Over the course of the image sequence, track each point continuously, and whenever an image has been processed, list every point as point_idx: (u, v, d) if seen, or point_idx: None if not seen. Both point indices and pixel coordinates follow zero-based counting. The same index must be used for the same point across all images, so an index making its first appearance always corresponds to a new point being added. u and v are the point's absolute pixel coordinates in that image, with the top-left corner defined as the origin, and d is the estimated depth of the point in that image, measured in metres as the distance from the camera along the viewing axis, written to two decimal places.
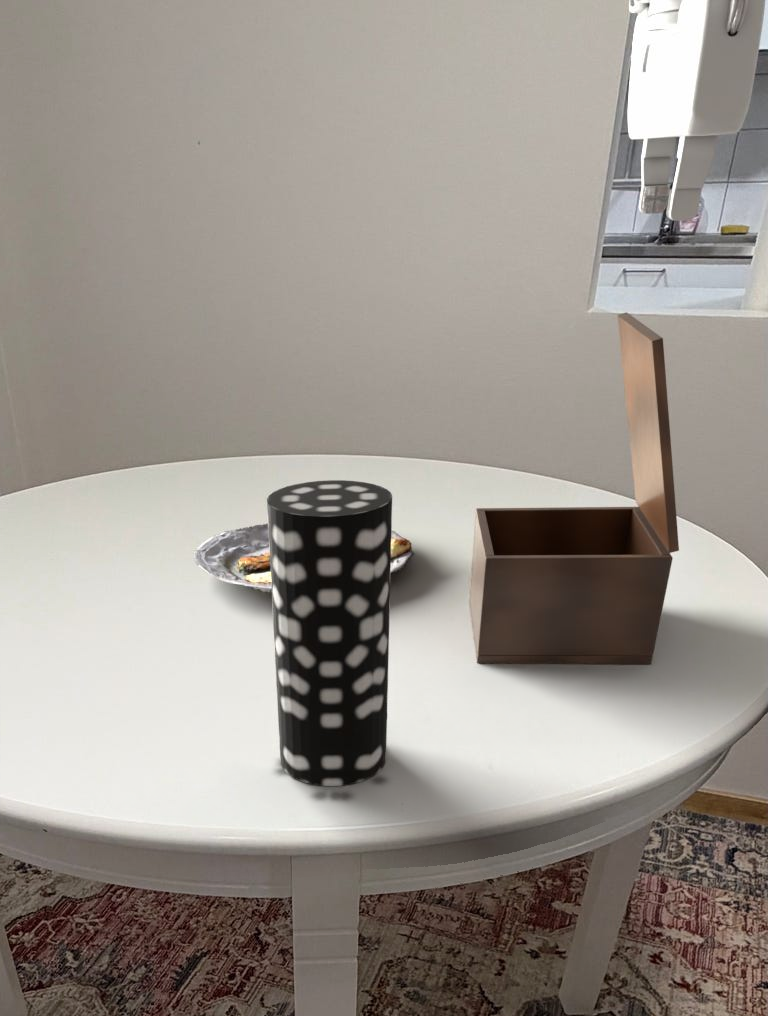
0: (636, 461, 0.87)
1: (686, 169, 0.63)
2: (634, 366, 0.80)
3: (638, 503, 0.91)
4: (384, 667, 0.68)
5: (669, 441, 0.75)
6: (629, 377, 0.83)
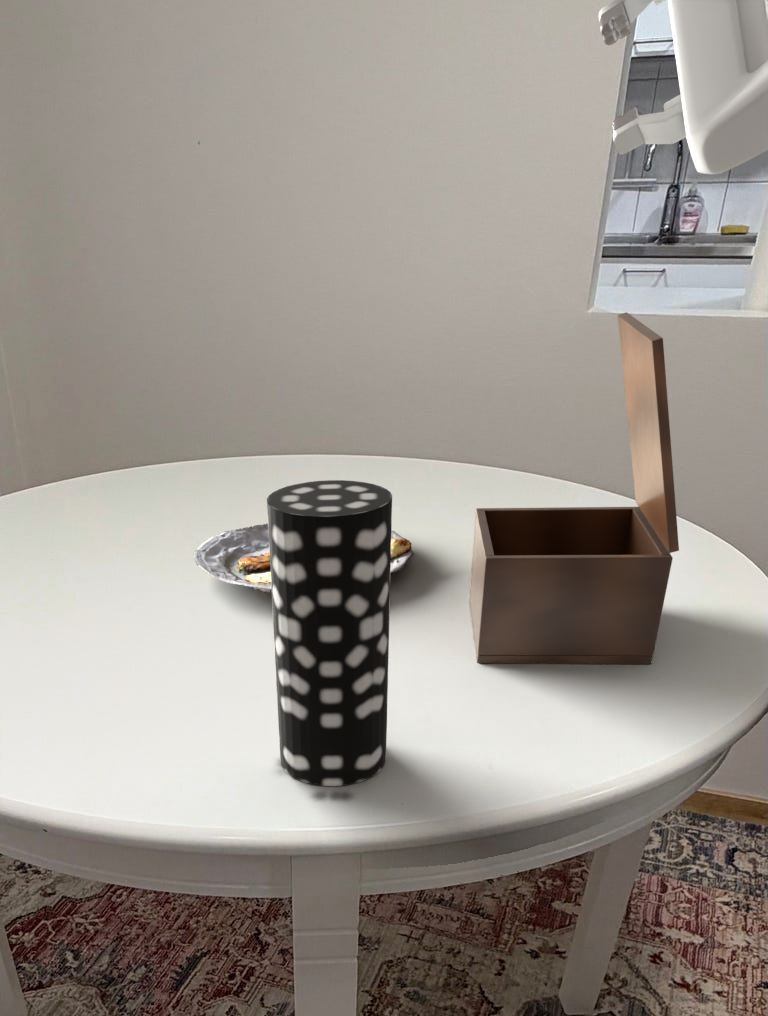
0: (636, 461, 0.87)
1: None
2: (634, 366, 0.80)
3: (638, 503, 0.91)
4: (384, 667, 0.68)
5: (669, 441, 0.75)
6: (629, 377, 0.83)
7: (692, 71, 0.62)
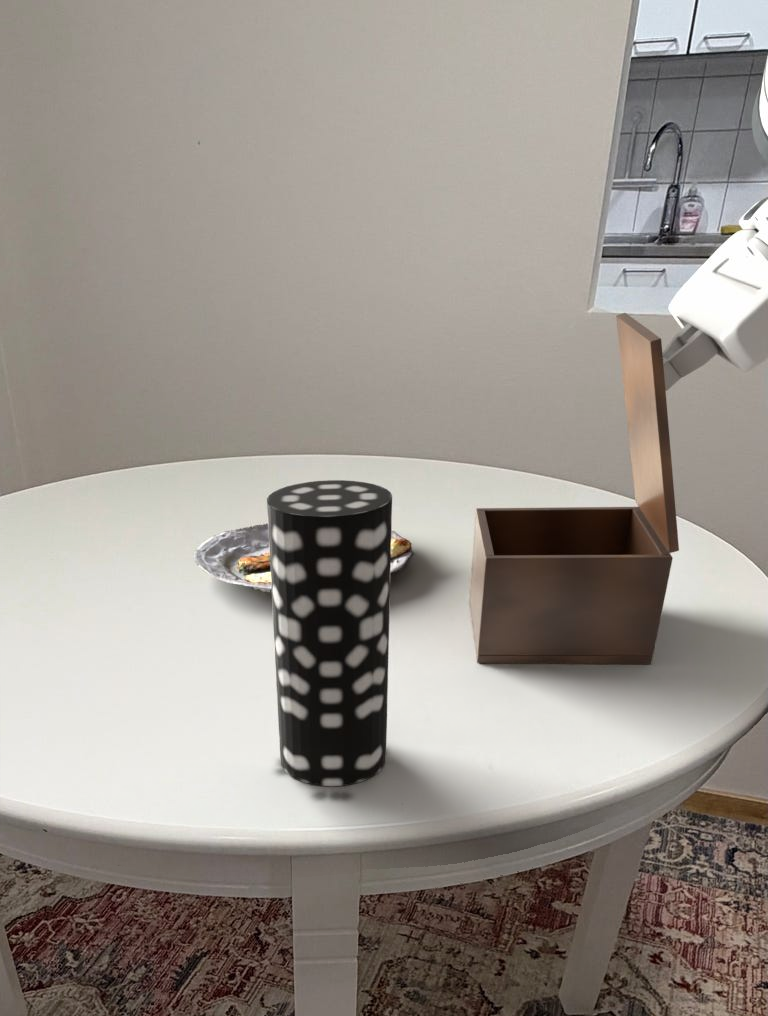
0: (636, 461, 0.87)
1: (685, 355, 0.76)
2: (633, 366, 0.80)
3: (638, 503, 0.91)
4: (384, 667, 0.68)
5: (668, 441, 0.75)
6: (628, 377, 0.83)
7: None
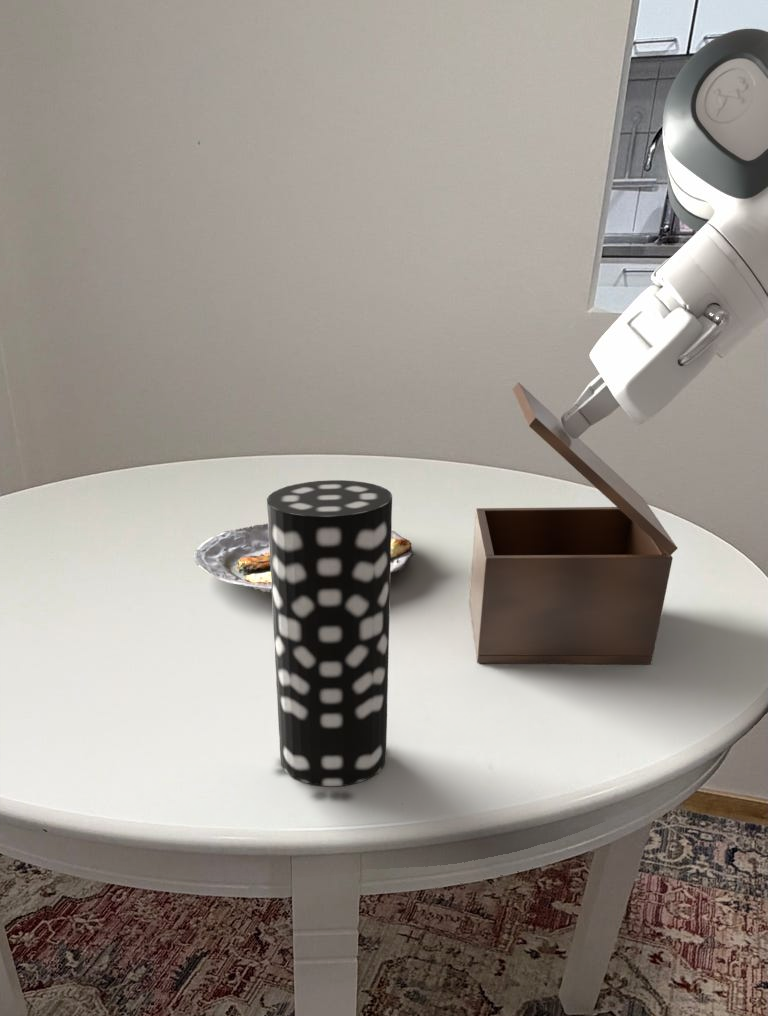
0: None
1: (592, 405, 0.81)
2: None
3: None
4: (384, 667, 0.68)
5: (601, 480, 0.77)
6: None
7: None
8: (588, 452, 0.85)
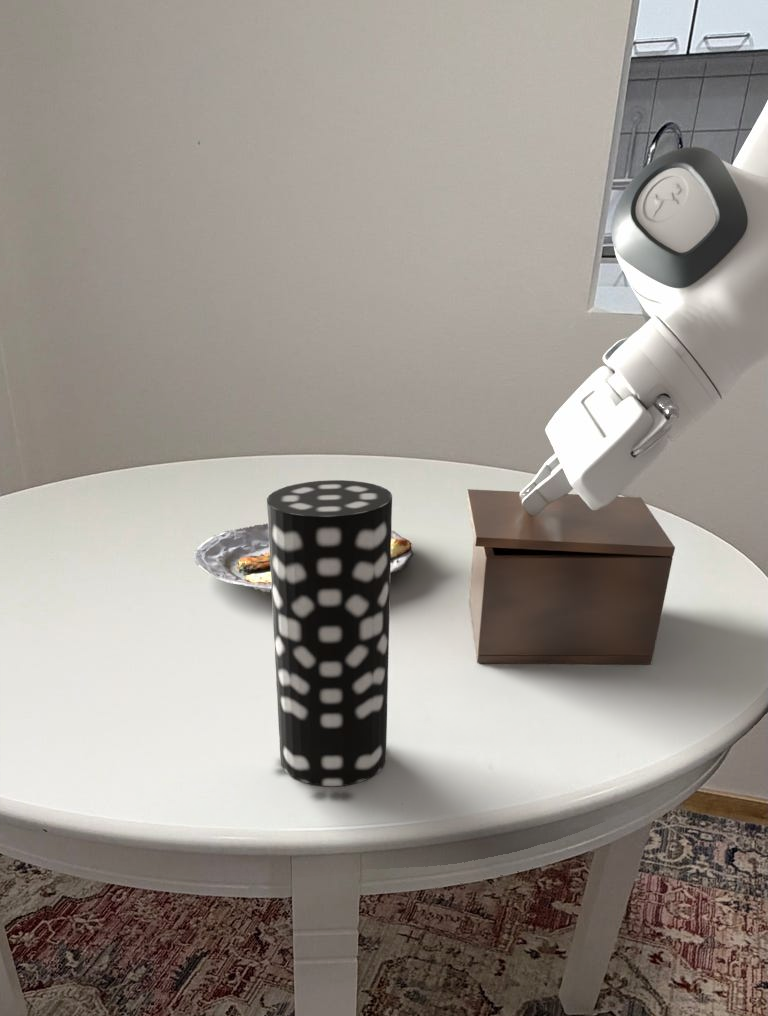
0: None
1: (549, 485, 0.83)
2: None
3: None
4: (384, 667, 0.68)
5: (566, 543, 0.81)
6: None
7: None
8: (557, 507, 0.88)
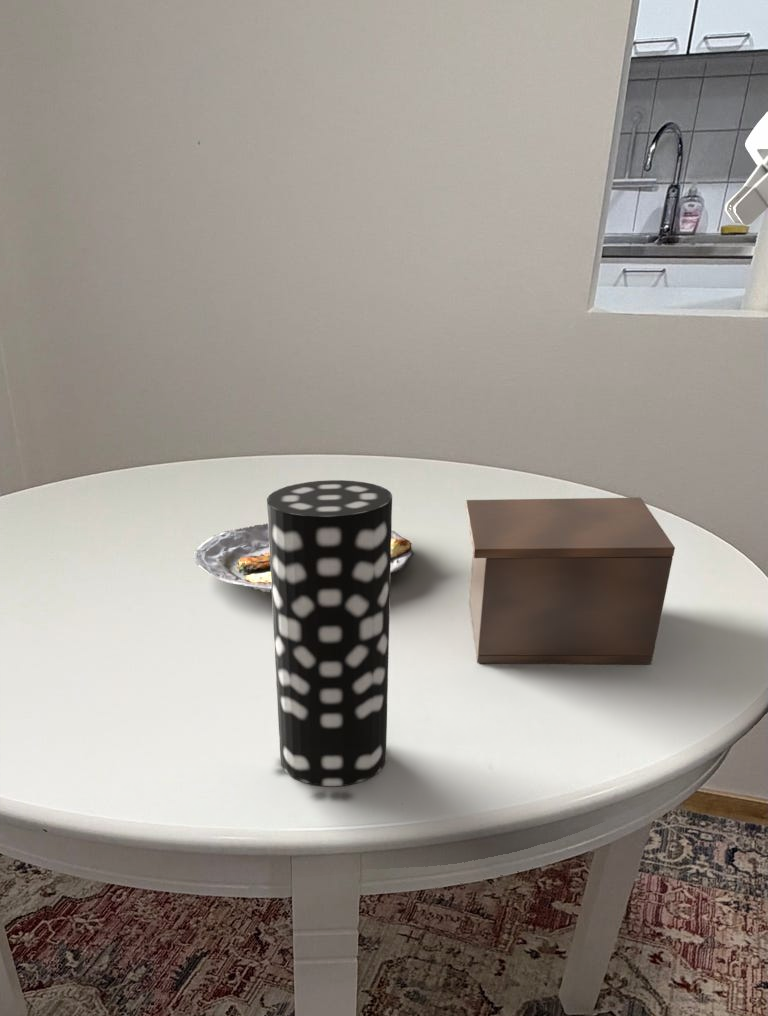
0: None
1: None
2: None
3: None
4: (384, 667, 0.68)
5: (564, 549, 0.81)
6: None
7: None
8: (556, 513, 0.89)
